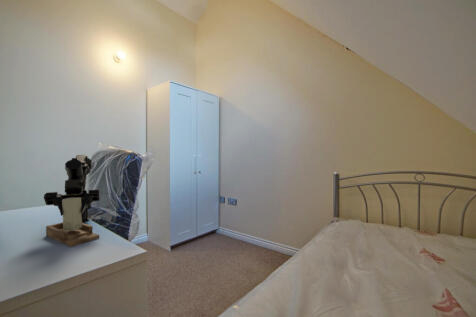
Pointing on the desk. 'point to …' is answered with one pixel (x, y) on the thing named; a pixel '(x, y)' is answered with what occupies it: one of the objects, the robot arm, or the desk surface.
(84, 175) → the robot arm
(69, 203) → the box
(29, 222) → the desk surface
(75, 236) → the tray
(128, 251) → the desk surface
